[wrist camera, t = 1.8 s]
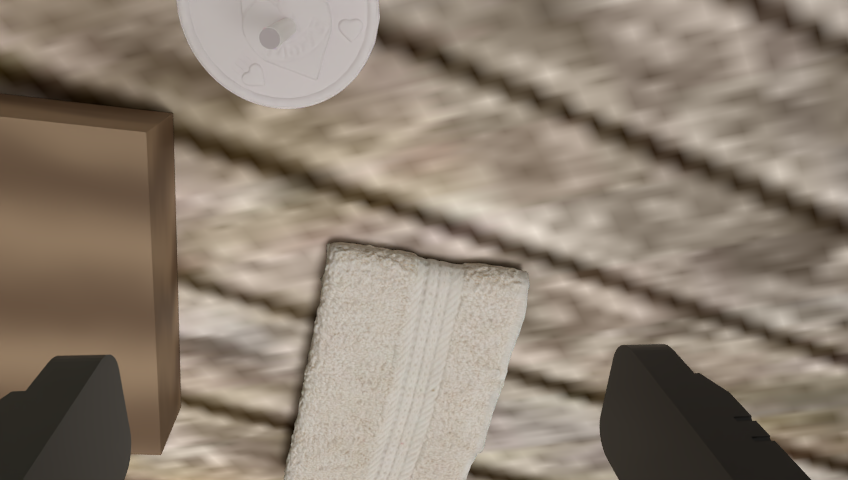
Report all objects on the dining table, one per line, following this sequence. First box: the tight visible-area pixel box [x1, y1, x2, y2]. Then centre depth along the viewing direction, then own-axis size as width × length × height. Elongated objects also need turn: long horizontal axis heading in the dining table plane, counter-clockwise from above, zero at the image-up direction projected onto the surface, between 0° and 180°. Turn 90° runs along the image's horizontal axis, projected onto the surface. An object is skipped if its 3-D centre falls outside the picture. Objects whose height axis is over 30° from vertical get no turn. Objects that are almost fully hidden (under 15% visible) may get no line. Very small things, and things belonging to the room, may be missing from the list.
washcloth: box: [284, 242, 530, 480], centre depth 35 cm, size 12×18×3 cm, turn 167°
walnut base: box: [0, 94, 181, 455], centre depth 29 cm, size 18×14×4 cm
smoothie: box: [177, 0, 380, 109], centre depth 21 cm, size 6×6×14 cm
